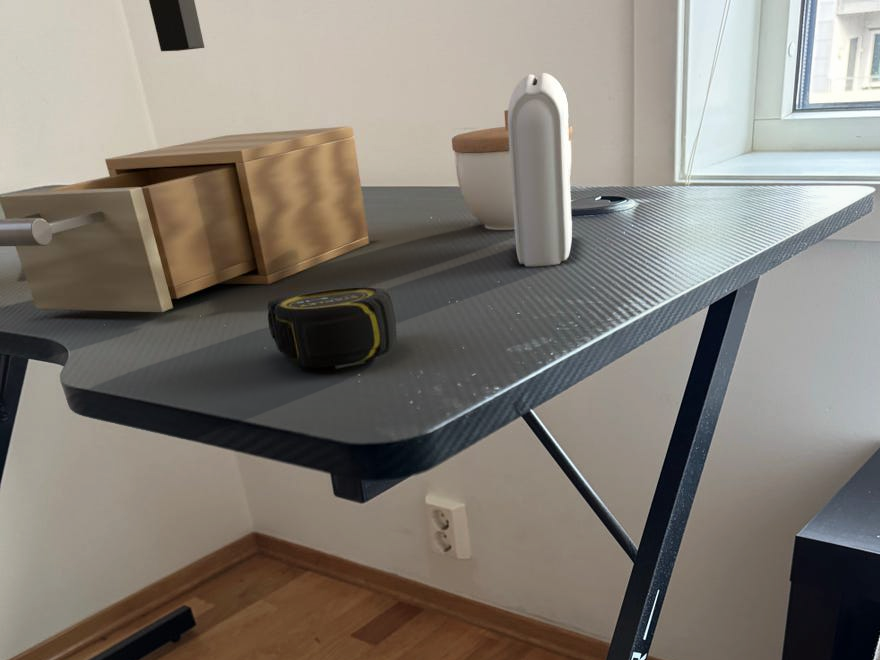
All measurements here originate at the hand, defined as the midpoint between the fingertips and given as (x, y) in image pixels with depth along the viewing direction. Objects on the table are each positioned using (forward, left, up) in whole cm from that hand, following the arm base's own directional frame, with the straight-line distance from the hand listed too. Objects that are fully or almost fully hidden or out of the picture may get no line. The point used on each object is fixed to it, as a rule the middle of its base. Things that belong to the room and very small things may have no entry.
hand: (183, 49), depth 48 cm
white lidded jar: (+1, +40, -16) cm, 43 cm away
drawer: (-17, +9, -15) cm, 24 cm away
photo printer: (+9, +27, -16) cm, 33 cm away
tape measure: (+7, -1, -16) cm, 17 cm away
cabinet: (-17, +24, -16) cm, 34 cm away
